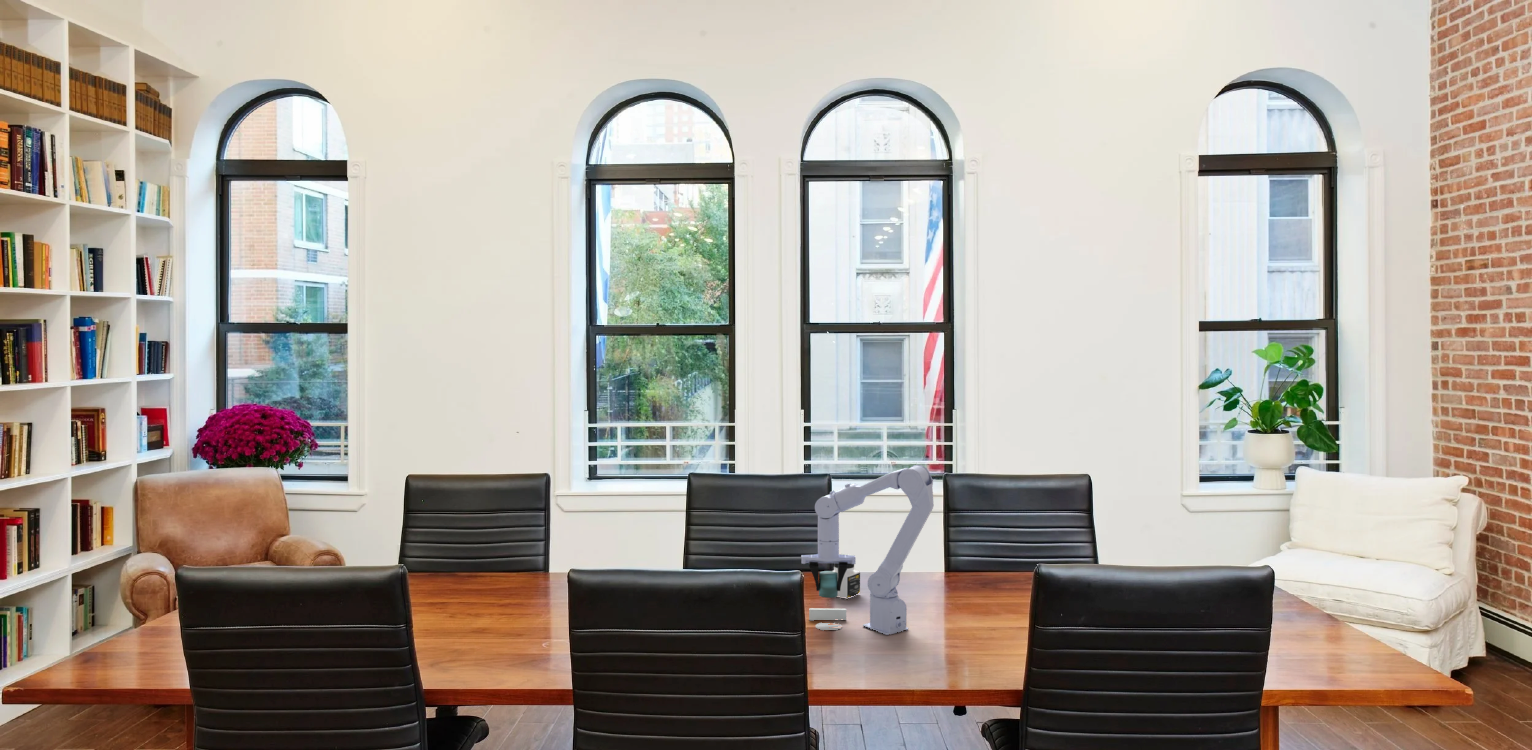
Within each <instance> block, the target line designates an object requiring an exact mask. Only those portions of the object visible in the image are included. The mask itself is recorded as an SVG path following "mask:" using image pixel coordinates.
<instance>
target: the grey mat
mask: <svg viewBox="0 0 1532 750" xmlns="http://www.w3.org/2000/svg"><path fill="white" fill-rule="evenodd" d="M835 623H836V622H834V623H833V624H835ZM828 624H830V623H822V622H819V623H816V624H815V628H816V629H818V630H819V629H820V631H824V630H836V631H839V630H838V629H840V630H842V628H832V627H838V626H842V627H843V625H842V624H840V625H828ZM829 627H830V628H829Z"/></svg>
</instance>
